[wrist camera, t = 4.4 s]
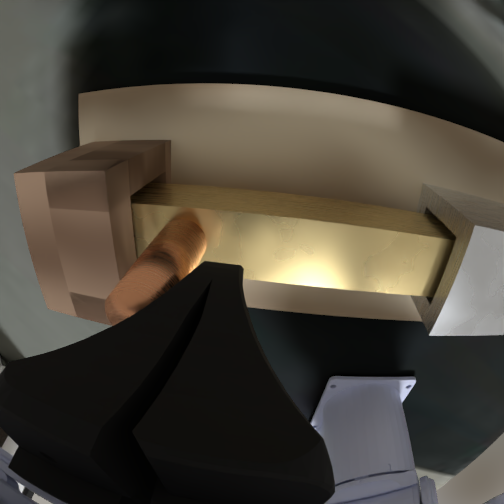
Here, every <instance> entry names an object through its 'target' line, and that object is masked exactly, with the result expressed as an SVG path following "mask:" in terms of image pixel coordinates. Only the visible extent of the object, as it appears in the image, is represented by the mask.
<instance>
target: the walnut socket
mask: <svg viewBox="0 0 504 504" xmlns="http://www.w3.org/2000/svg"><path fill="white" fill-rule="evenodd" d="M14 178H15V185H16V191H17V197H18V202H19V208H20V213H21V217H22V222H23V227H24V231H25V235H26V239H27V243H28V247H29V251H30V254H31V258H32V262H33V265H34V268H35V272H36V275H37V278H38V281H39V284H40V287H41V290H42V293H43V296H44V299H45V302H46V305H47V307H48V309H51V310H54V311H58V312H61V313H65V314H68V315H72V316H76V317H80V318H83V319H87V320H91V321H95V322H99V323H103V324H107V325H112V324H111V323H110V321H109V320H108V318H107V315H106V312H105V301H106V299H107V297H108V296H109V294H110V293H111V292H112V290H113V289H114V288H115V287H116V285H117V284H118V283H119V281H120V280H121V279H122V278H123V276H124V275H125V274H126V272H127V271H128V270H129V269H130V267H131V266H132V265H133V264H134V262H135V261H136V260H137V258H136V250H135V241H134V233H133V223H132V213H131V201H130V196H131V195H133V194H134V193H135V192H137V191H138V190H139V189H141V188H142V187H144V186H145V185H146V184H148V183H168V184H171V140H121V141H97V142H91V143H88V144H85V145H82V146H79V147H76V148H74V149H71V150H68V151H66V152H63V153H60V154H58V155H55V156H53V157H50V158H48V159H45V160H43V161H41V162H38V163H36V164H33V165H31V166H29V167H27V168H24V169H22V170H20V171H18V172H16V173H14Z"/></svg>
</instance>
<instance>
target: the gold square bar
mask: <svg viewBox="0 0 504 504" xmlns="http://www.w3.org/2000/svg"><path fill="white" fill-rule="evenodd" d="M130 201H131V213H132V223H133V233H134V241H135V250H136V258H137V260H136V261H135V262H134V264H133V265H132V266H131V267H130V269H129V270H128V271H127V272H126V274H125V275H124V276H123V278H122V279H121V280H120V281H119V283H118V284H117V285H116V287H115V288H114V289H113V290H112V292H111V293H110V294H109V296H108V297H107V299H106V301H105V312H106V315H107V318H108V320H109V321H110V323H111V324H112V326H114V325H116V324H118V323H119V322H121V321H123V320H125V319H126V318H128V317H130V316H132V315H133V314H135V313H137V312H138V311H140V310H141V309H143V308H144V307H146V306H147V305H149V304H150V303H151V302H153V301H154V300H156V299H157V298H159V297H160V296H161V295H163V294H164V293H165V292H167V291H168V290H169V289H170V288H172V287H173V286H174V285H175V284H177V283H178V282H179V281H180V280H182V279H183V278H184V277H185V276H187V275H188V274H189V273H190V272H191V271H192V270H194V269H195V268H196V267H197V266H199V265H200V264H201V263H202V262H204V261H210V262H218V263H227V264H235V265H241V266H242V267H243V268H244V274H243V279H250V280H259V281H268V282H277V283H286V284H295V285H305V286H314V287H324V288H335V289H345V290H356V291H366V292H378V293H389V294H401V295H414V296H427V297H434V296H435V294H436V291H437V289H438V286H439V284H440V282H441V279H442V277H443V274H444V271H445V269H446V266H447V264H448V261H449V258H450V255H451V253H452V250H453V247H454V244H455V241H456V238H457V237H456V236H455V235H454V234H453V233H452V231H451V230H450V229H449V228H448V227H447V226H446V225H445V224H444V223H443V222H442V221H440V220H439V219H438V218H437V217H436V216H434V215H429V214H423V213H418V212H412V211H406V210H401V209H395V208H389V207H383V206H376V205H370V204H363V203H357V202H350V201H343V200H336V199H328V198H321V197H313V196H305V195H296V194H287V193H278V192H269V191H259V190H249V189H238V188H226V187H213V186H200V185H185V184H168V183H148V184H146V185H145V186H144V187H142V188H141V189H139V190H138V191H137V192H135V193H134V194H133V195H131V196H130Z"/></svg>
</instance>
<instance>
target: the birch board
mask: <svg viewBox="0 0 504 504" xmlns="http://www.w3.org/2000/svg"><path fill="white" fill-rule="evenodd" d="M79 137H80V146H82V145H85V144H88V143H91V142H97V141H121V140H171V184H185V185H200V186H213V187H226V188H238V189H249V190H259V191H269V192H278V193H287V194H296V195H305V196H313V197H321V198H328V199H336V200H343V201H350V202H357V203H363V204H370V205H376V206H383V207H389V208H395V209H401V210H406V211H412V212H416V211H417V207H418V203H419V199H420V195H421V191H422V186H423V183H425V184H429V185H434V186H438V187H442V188H447V189H451V190H455V191H459V192H463V193H467V194H470V195H474V196H478V197H481V198H485V199H489V200H492V201H495V202H499V203H502V204H504V142H502V141H499V140H497V139H494V138H492V137H490V136H487V135H485V134H482V133H479V132H477V131H474V130H471V129H469V128H466V127H463V126H460V125H457V124H454V123H452V122H448V121H445V120H442V119H439V118H436V117H433V116H429V115H426V114H422V113H419V112H415V111H412V110H408V109H404V108H400V107H396V106H392V105H388V104H384V103H379V102H375V101H370V100H365V99H360V98H355V97H350V96H344V95H338V94H332V93H326V92H319V91H311V90H304V89H295V88H286V87H275V86H262V85H246V84H214V83H196V84H164V85H148V86H136V87H125V88H116V89H108V90H100V91H93V92H87V93H81V94H79ZM243 291H244V296H245V301H246V305H247V307H253V308H261V309H270V310H279V311H289V312H298V313H309V314H320V315H331V316H343V317H357V318H371V319H387V320H405V321H422V319H421V317H420V315H419V313H418V310H417V308H416V306H415V304H414V302H413V300H412V298H411V296H410V295H401V294H389V293H378V292H366V291H356V290H345V289H335V288H324V287H314V286H305V285H295V284H286V283H277V282H268V281H259V280H250V279H243Z"/></svg>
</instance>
